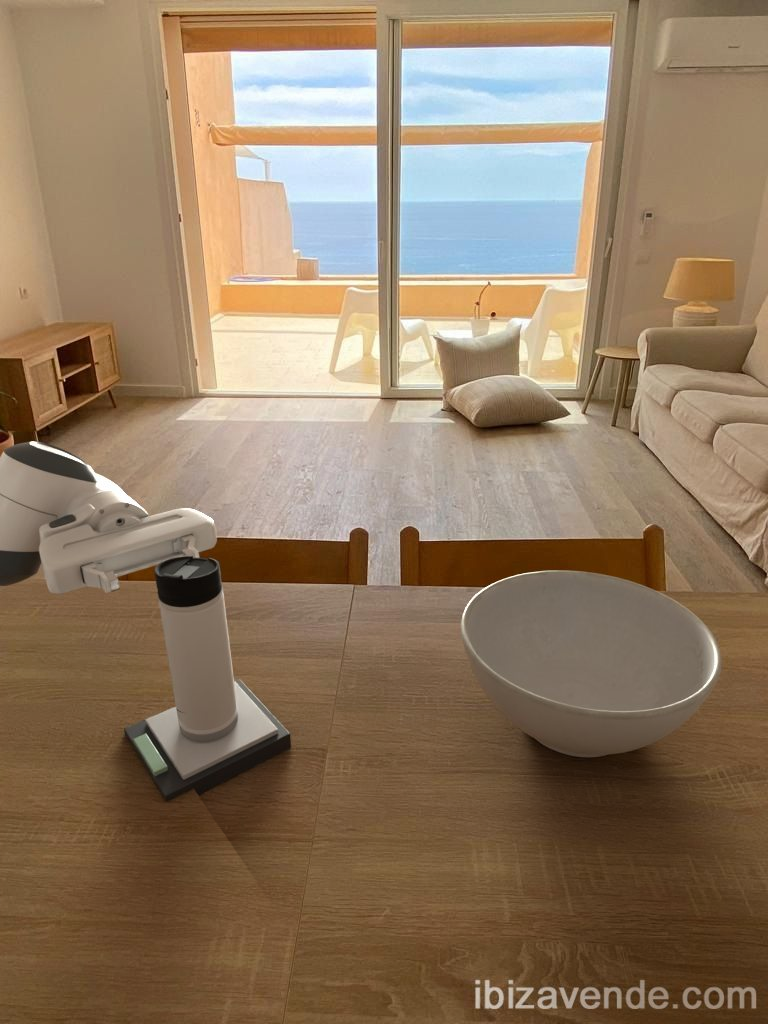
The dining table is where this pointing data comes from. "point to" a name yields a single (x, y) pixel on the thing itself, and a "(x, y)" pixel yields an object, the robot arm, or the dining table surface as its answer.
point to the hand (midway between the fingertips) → (154, 572)
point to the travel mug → (197, 646)
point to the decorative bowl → (589, 659)
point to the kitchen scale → (206, 747)
